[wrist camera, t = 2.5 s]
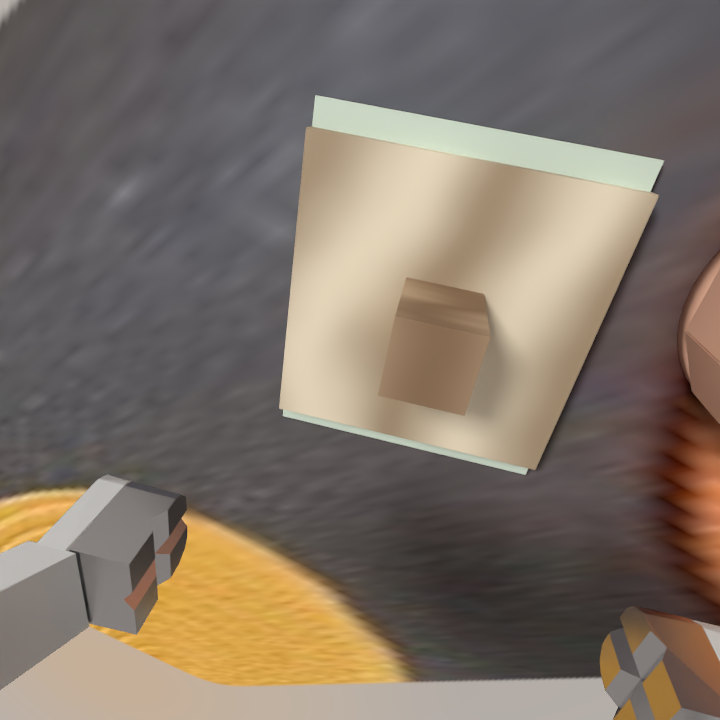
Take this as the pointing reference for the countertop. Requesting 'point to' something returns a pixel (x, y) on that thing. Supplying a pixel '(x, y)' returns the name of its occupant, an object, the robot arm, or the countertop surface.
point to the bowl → (702, 338)
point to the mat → (486, 147)
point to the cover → (448, 292)
